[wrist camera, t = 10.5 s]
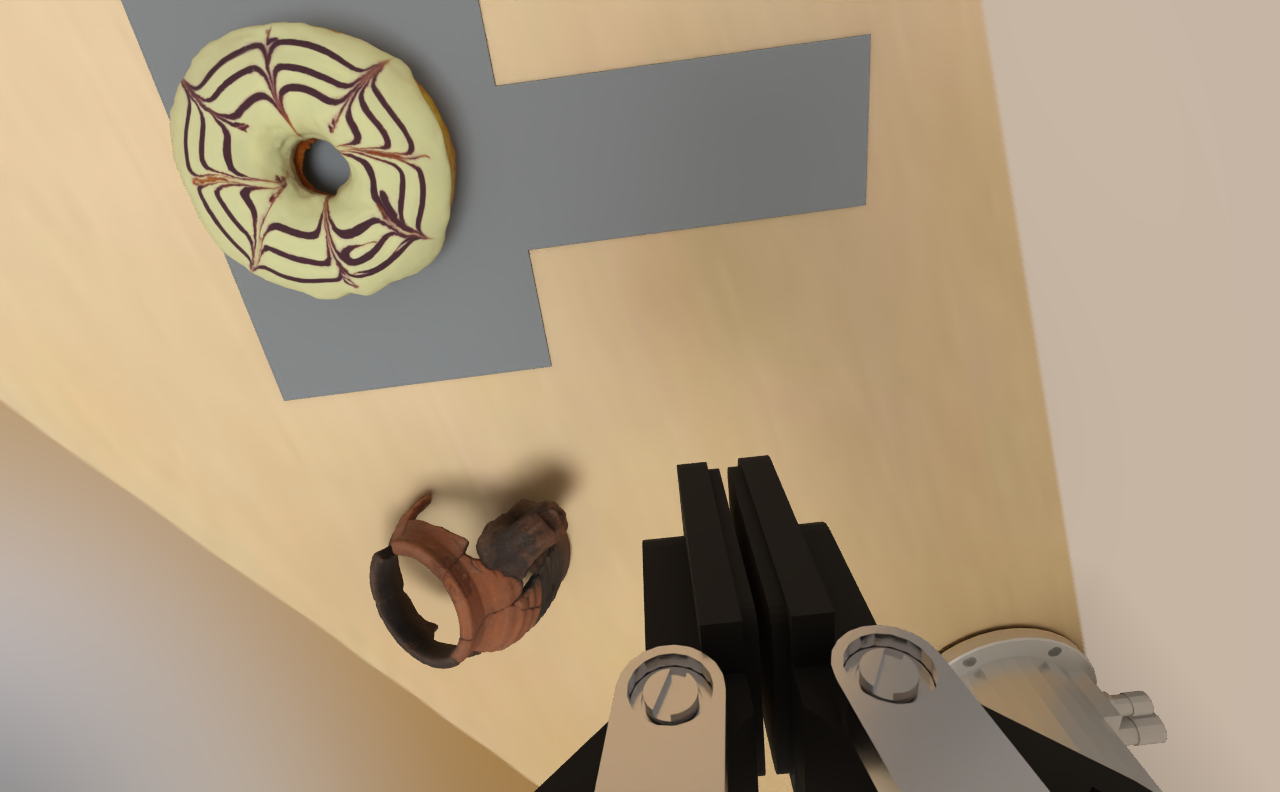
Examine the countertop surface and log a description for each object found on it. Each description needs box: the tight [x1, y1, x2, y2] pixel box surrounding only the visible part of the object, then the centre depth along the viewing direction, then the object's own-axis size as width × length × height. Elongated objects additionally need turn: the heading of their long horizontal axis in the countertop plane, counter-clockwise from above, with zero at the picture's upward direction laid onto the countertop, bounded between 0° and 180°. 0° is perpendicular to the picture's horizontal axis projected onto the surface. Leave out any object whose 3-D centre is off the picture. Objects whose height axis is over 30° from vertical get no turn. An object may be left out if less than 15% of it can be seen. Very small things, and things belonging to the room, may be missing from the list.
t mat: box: [121, 0, 871, 401], centre depth 28 cm, size 30×19×1 cm, turn 97°
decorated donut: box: [170, 22, 456, 300], centre depth 26 cm, size 10×11×4 cm
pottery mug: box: [370, 495, 570, 669], centre depth 34 cm, size 12×9×8 cm
